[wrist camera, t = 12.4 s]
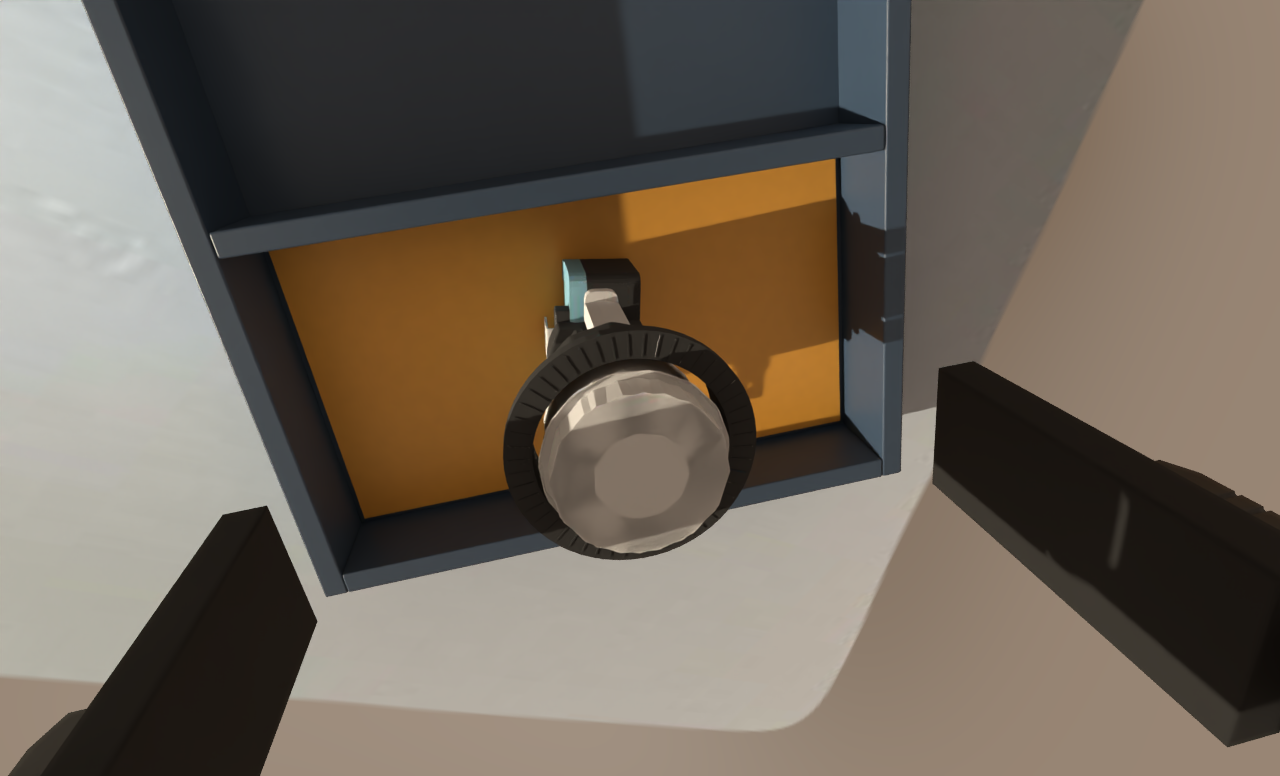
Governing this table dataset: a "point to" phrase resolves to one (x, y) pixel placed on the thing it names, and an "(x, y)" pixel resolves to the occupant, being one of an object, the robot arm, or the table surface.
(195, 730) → the robot arm
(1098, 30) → the table surface
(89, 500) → the table surface
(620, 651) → the table surface
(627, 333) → the push button
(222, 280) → the parts tray
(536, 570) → the table surface
